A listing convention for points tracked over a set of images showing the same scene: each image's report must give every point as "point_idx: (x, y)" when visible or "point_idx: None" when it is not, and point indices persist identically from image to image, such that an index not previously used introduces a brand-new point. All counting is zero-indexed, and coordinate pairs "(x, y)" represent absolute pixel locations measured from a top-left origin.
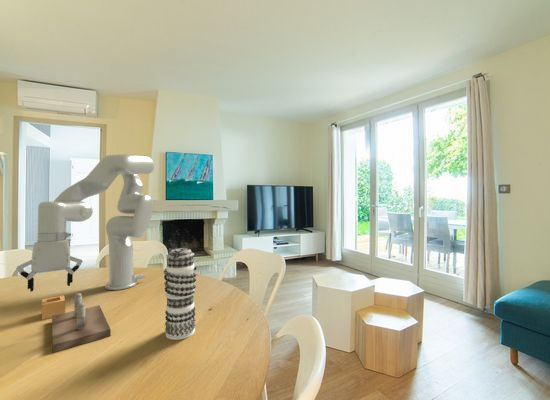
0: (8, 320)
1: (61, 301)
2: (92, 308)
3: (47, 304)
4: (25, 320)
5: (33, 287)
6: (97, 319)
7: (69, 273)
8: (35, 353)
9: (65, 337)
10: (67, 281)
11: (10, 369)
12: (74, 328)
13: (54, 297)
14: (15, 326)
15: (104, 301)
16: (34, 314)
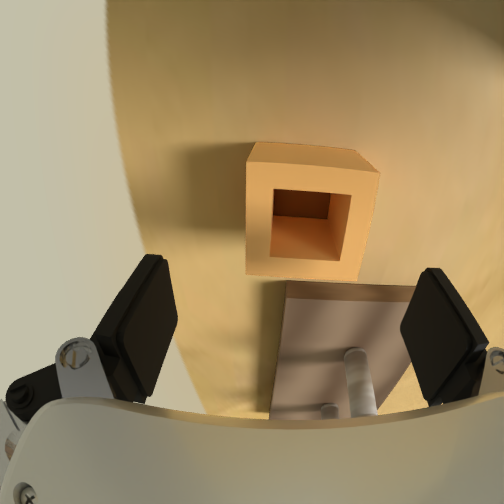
0: (129, 138)
1: (339, 278)
2: None
3: (272, 272)
4: (192, 187)
5: (163, 284)
6: (376, 388)
7: (448, 400)
8: (242, 401)
9: (292, 418)
10: (416, 337)
11: (212, 412)
12: (318, 401)
13: (321, 179)
14: (167, 231)
15: (491, 194)
16: (222, 126)
